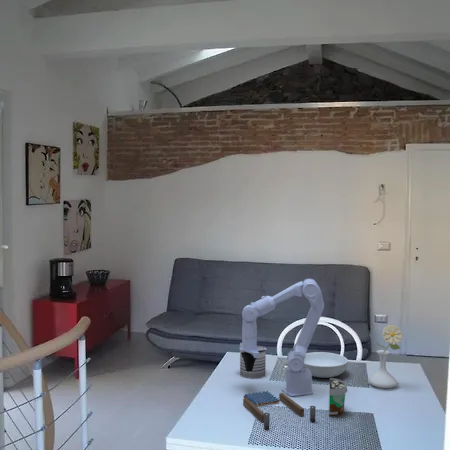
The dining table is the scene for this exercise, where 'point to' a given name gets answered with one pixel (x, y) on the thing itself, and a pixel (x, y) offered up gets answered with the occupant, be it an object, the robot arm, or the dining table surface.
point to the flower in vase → (382, 375)
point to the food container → (336, 397)
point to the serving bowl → (325, 364)
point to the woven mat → (261, 398)
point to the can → (255, 365)
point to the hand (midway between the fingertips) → (249, 371)
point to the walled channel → (282, 398)
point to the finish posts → (267, 417)
